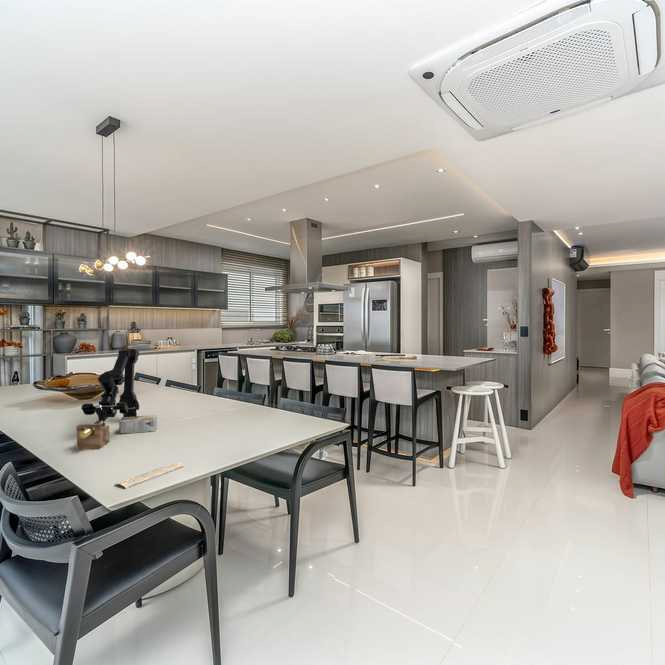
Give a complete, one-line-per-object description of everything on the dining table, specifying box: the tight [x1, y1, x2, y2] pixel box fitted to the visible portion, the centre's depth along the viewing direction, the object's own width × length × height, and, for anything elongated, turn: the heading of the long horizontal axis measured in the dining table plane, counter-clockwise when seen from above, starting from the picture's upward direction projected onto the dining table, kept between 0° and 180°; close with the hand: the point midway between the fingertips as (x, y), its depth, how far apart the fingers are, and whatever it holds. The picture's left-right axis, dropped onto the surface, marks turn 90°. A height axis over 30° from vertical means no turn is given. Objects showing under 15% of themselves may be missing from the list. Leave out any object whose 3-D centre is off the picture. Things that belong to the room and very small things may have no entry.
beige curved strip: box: [114, 461, 186, 490], centre depth 142 cm, size 24×7×2 cm, turn 151°
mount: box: [76, 423, 110, 451], centre depth 177 cm, size 10×9×10 cm
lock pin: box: [79, 420, 106, 439], centre depth 175 cm, size 17×4×4 cm, turn 9°
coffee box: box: [118, 414, 158, 435], centre depth 202 cm, size 9×6×16 cm
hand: (100, 424), depth 184 cm, fingers closed
